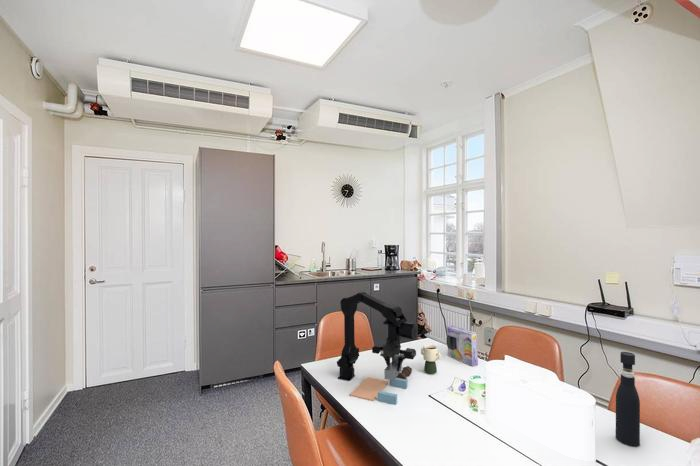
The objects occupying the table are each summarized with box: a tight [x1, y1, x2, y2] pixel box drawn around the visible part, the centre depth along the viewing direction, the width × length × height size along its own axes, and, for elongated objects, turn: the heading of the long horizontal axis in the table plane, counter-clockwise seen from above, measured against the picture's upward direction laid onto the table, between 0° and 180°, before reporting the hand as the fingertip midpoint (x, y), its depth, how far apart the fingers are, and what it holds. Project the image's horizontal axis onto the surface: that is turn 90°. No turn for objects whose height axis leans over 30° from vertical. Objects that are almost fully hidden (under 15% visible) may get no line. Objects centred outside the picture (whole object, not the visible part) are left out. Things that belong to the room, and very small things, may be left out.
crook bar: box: [383, 355, 403, 381], centre depth 147 cm, size 4×12×7 cm, turn 155°
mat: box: [349, 376, 390, 402], centre depth 152 cm, size 11×20×1 cm, turn 154°
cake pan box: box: [445, 324, 479, 367], centre depth 187 cm, size 19×5×18 cm, turn 28°
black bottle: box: [615, 351, 641, 448], centre depth 114 cm, size 6×6×30 cm
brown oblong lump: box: [396, 365, 413, 380], centre depth 164 cm, size 6×5×15 cm
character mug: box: [420, 344, 441, 374], centre depth 170 cm, size 11×7×13 cm, turn 48°
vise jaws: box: [377, 378, 409, 406], centre depth 147 cm, size 8×18×4 cm, turn 154°
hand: (393, 370), depth 148 cm, fingers closed on crook bar, 4 cm apart
